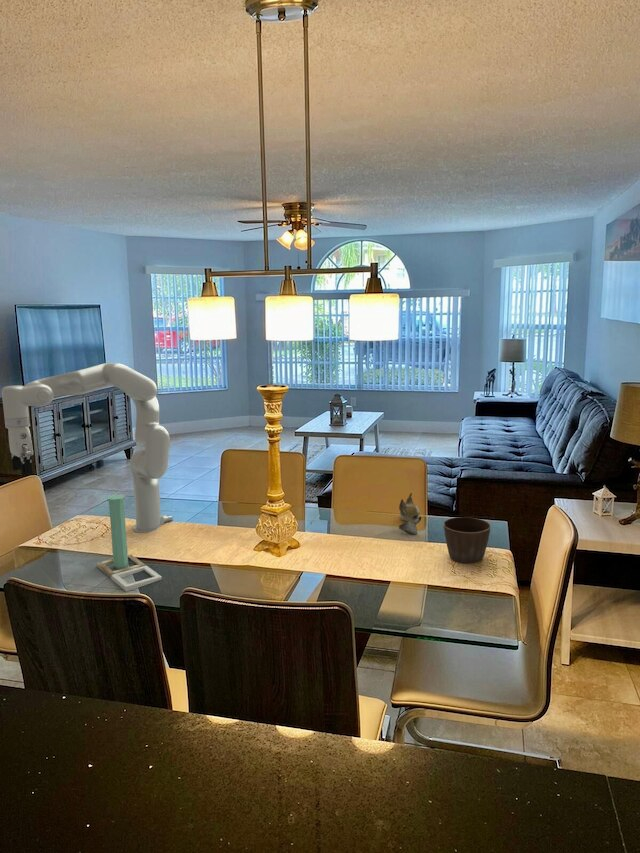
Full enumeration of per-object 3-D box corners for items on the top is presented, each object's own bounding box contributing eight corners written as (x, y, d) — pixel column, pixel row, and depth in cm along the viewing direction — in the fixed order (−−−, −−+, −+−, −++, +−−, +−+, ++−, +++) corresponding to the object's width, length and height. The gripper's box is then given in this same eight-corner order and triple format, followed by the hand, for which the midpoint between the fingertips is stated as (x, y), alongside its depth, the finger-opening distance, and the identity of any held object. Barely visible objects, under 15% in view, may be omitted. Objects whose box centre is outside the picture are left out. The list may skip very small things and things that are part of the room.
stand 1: (131, 558, 223) (131, 554, 223) (145, 568, 214) (145, 564, 214) (97, 567, 216) (97, 563, 215) (110, 578, 206) (110, 573, 206)
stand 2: (146, 569, 213) (146, 565, 213) (162, 581, 204) (161, 576, 204) (111, 579, 206) (111, 574, 205) (125, 591, 196) (125, 586, 196)
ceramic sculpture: (416, 540, 237) (416, 501, 234) (394, 536, 241) (394, 498, 238) (426, 531, 246) (426, 494, 243) (405, 528, 250) (405, 491, 247)
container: (127, 571, 212) (121, 499, 207) (109, 571, 212) (103, 499, 207) (132, 564, 218) (127, 494, 213) (115, 564, 218) (110, 494, 213)
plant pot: (482, 583, 198) (483, 535, 195) (436, 574, 205) (437, 527, 203) (494, 567, 211) (495, 521, 208) (450, 559, 218) (451, 514, 215)
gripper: (37, 424, 208) (42, 474, 211) (21, 418, 221) (25, 465, 224) (13, 427, 203) (19, 478, 207) (-3, 421, 216) (3, 469, 219)
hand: (22, 472), depth 215 cm, fingers open, 9 cm apart
